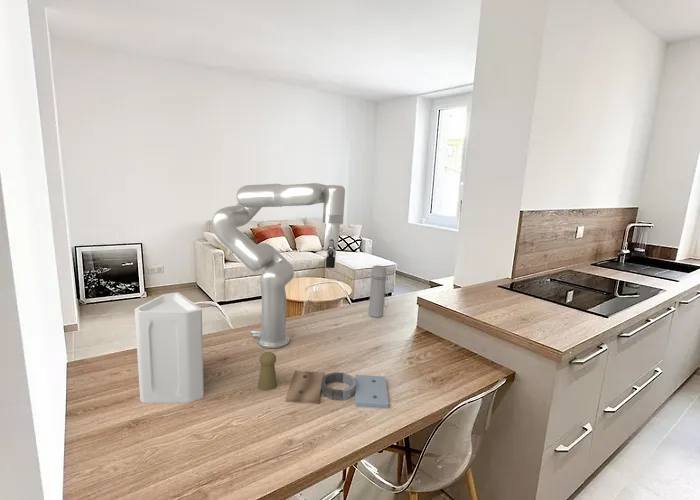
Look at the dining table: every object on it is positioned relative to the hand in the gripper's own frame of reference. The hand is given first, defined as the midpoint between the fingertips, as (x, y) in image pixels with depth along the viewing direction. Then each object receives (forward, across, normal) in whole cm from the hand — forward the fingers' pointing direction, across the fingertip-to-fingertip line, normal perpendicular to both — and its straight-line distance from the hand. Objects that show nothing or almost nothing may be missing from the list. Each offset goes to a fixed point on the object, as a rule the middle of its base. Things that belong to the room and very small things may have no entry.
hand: (330, 264), depth 141 cm
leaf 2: (+35, +28, +14) cm, 47 cm away
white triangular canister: (+35, +33, -47) cm, 67 cm away
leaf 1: (+35, +27, -2) cm, 44 cm away
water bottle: (+35, -39, +24) cm, 57 cm away
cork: (+35, +27, -18) cm, 47 cm away
